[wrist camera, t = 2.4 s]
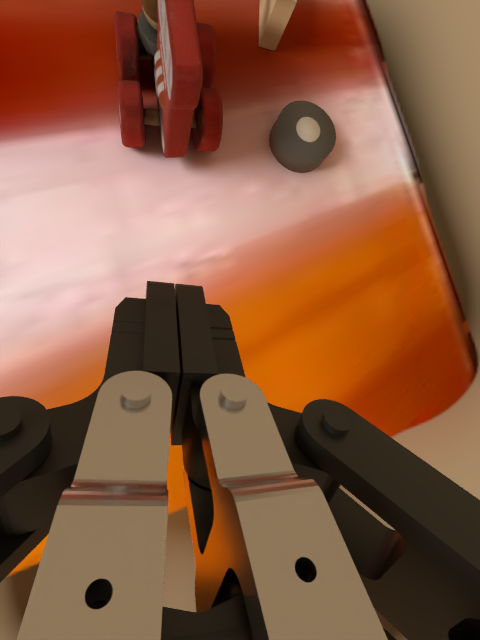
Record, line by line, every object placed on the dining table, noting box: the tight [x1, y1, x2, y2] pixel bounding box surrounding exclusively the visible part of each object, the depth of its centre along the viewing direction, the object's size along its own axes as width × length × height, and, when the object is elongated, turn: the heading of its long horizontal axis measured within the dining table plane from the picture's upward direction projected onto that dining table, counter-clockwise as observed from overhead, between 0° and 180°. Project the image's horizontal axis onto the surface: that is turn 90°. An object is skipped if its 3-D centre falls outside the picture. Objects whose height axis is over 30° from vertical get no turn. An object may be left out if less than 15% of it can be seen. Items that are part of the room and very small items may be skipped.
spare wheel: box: [269, 101, 336, 173], centre depth 30 cm, size 5×5×2 cm
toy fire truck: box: [114, 0, 223, 158], centre depth 24 cm, size 7×12×10 cm, turn 6°
